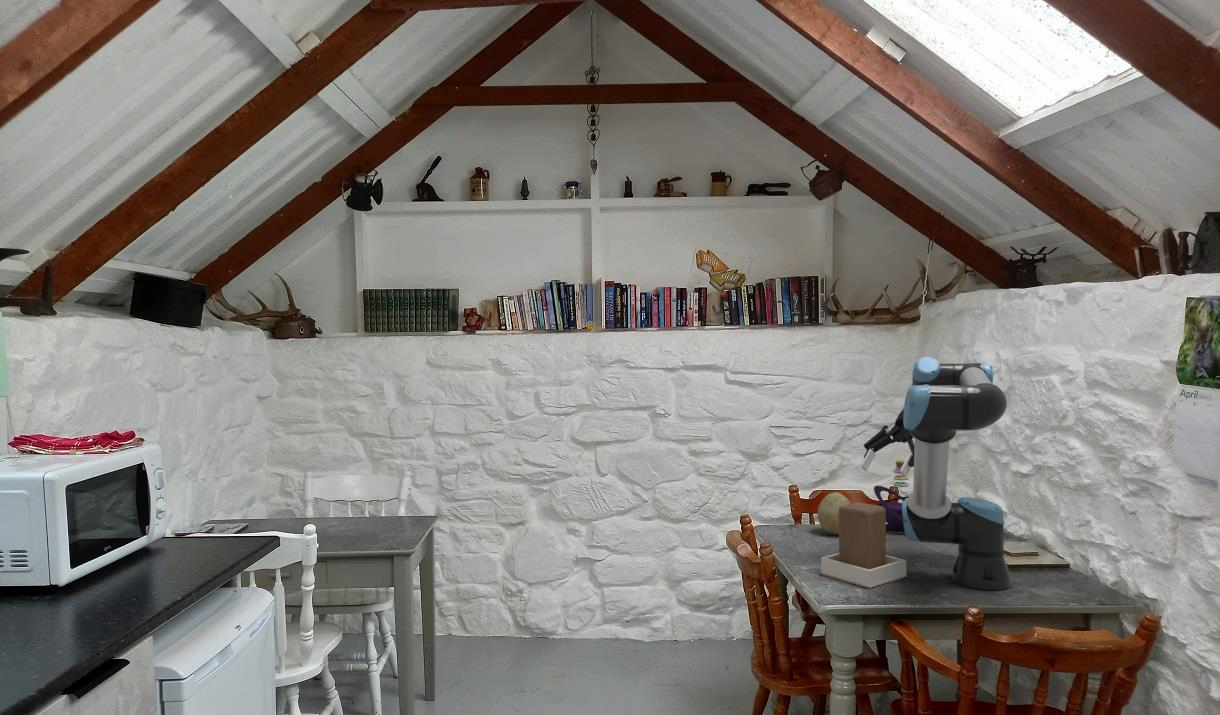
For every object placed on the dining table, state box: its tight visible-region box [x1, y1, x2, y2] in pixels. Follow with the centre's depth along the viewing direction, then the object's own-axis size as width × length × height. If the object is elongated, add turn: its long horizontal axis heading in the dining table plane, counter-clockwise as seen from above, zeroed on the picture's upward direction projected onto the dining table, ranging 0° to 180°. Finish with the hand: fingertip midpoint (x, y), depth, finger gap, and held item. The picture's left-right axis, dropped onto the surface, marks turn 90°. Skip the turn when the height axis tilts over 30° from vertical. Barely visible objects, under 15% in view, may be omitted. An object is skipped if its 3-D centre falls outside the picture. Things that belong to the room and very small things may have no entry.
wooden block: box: [838, 501, 887, 570], centre depth 226 cm, size 10×10×20 cm
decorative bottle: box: [873, 459, 910, 532], centre depth 280 cm, size 22×21×25 cm
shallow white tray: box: [820, 552, 907, 589], centre depth 226 cm, size 17×17×5 cm
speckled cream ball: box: [817, 491, 852, 536], centre depth 275 cm, size 13×13×15 cm
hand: (882, 471), depth 231 cm, fingers open, 13 cm apart
